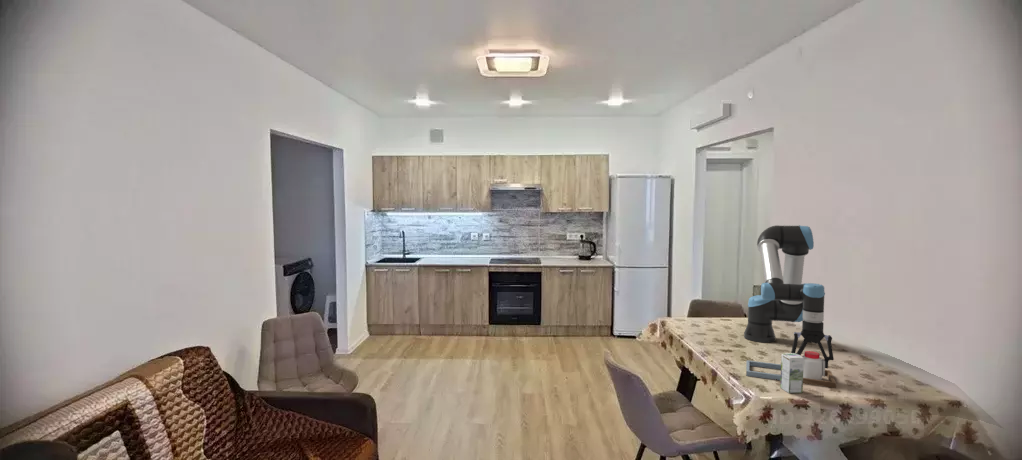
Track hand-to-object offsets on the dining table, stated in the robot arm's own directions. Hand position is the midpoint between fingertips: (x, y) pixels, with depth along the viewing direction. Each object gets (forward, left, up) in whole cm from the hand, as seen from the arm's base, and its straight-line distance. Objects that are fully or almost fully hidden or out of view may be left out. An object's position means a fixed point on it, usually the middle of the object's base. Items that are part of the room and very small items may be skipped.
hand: (811, 373), depth 204 cm
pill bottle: (0, 0, -2) cm, 2 cm away
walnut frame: (0, 0, -2) cm, 2 cm away
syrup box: (+18, -9, -2) cm, 20 cm away
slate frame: (0, -17, -2) cm, 17 cm away
